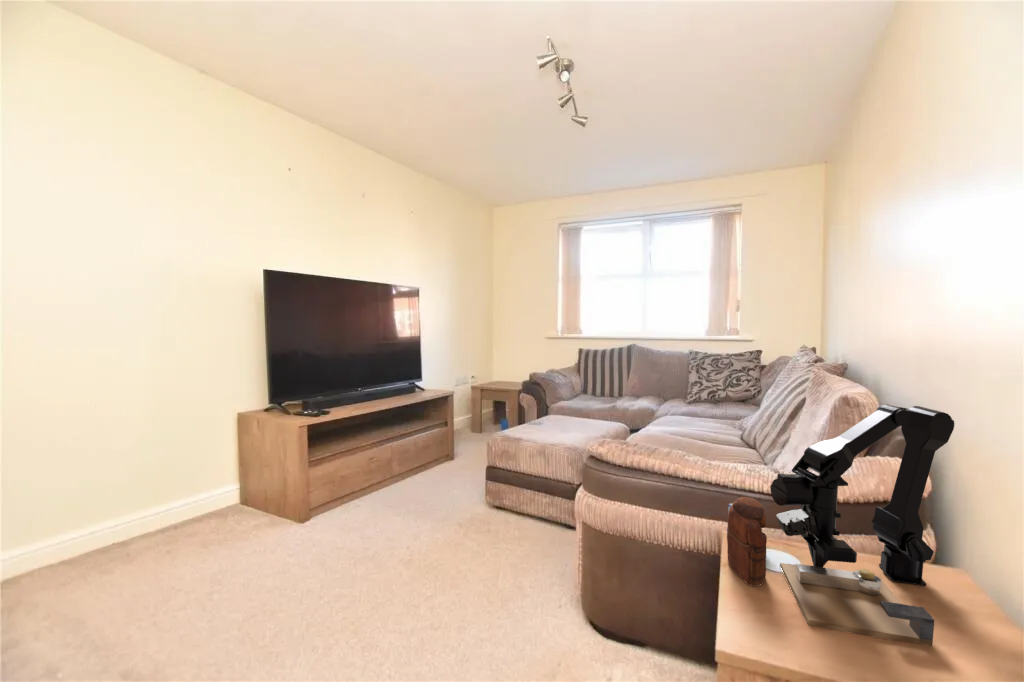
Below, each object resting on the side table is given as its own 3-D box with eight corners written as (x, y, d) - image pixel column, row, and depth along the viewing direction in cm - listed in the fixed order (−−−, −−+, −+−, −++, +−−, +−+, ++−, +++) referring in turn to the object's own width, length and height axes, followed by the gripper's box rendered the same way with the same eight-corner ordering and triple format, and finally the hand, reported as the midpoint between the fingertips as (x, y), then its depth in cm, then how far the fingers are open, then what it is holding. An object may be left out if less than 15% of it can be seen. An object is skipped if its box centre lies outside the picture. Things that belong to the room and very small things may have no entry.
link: (873, 583, 100) (874, 572, 100) (884, 597, 95) (885, 585, 95) (794, 572, 104) (794, 561, 104) (801, 584, 100) (801, 573, 100)
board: (879, 581, 103) (880, 560, 102) (932, 646, 84) (934, 620, 83) (779, 567, 108) (780, 547, 108) (808, 625, 89) (809, 601, 89)
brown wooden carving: (775, 587, 101) (779, 509, 100) (748, 588, 101) (751, 510, 99) (744, 557, 113) (747, 487, 111) (720, 558, 113) (722, 488, 111)
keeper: (921, 633, 87) (923, 607, 87) (932, 646, 84) (934, 619, 83) (878, 626, 89) (879, 600, 89) (886, 639, 86) (888, 612, 85)
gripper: (766, 484, 113) (763, 544, 114) (800, 520, 94) (796, 591, 96) (816, 487, 111) (812, 548, 112) (860, 524, 92) (855, 596, 94)
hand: (817, 569), depth 104 cm, fingers closed
